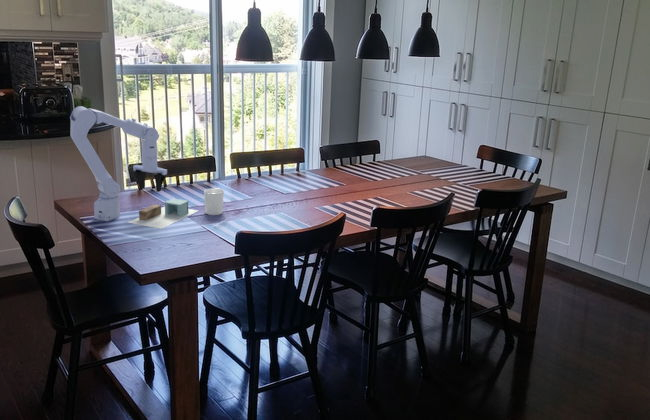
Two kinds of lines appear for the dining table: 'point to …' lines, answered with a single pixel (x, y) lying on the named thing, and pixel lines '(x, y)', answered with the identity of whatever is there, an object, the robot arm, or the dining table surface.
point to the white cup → (213, 201)
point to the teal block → (176, 206)
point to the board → (162, 219)
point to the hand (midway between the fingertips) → (150, 189)
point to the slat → (150, 212)
